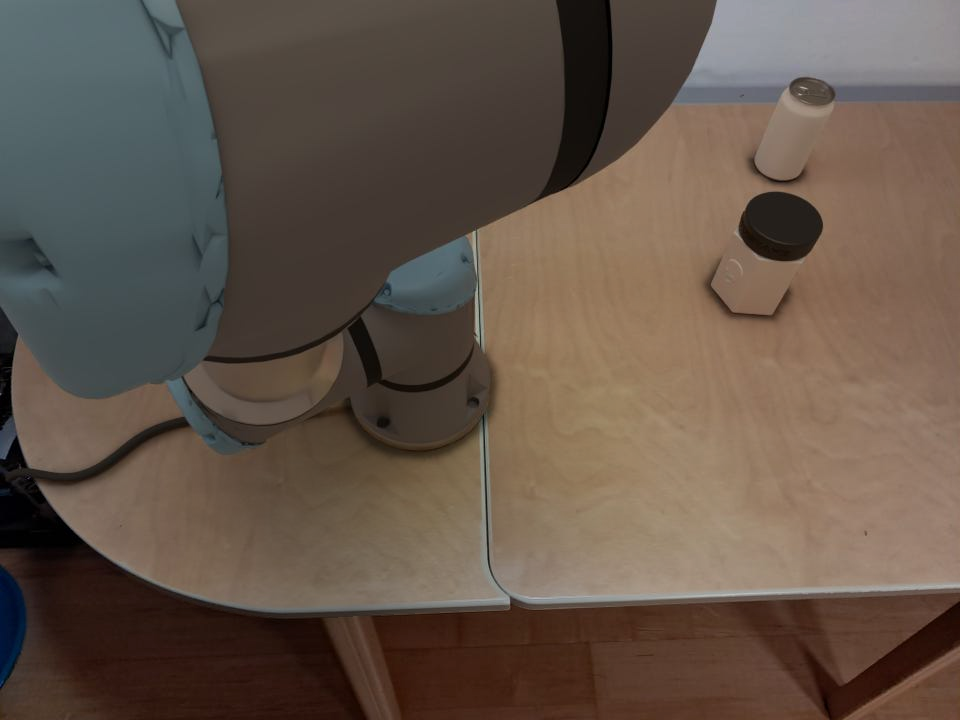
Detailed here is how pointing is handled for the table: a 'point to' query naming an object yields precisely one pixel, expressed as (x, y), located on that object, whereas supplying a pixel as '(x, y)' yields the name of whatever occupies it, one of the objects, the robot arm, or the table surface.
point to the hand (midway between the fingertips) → (123, 96)
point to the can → (795, 128)
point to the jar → (766, 252)
